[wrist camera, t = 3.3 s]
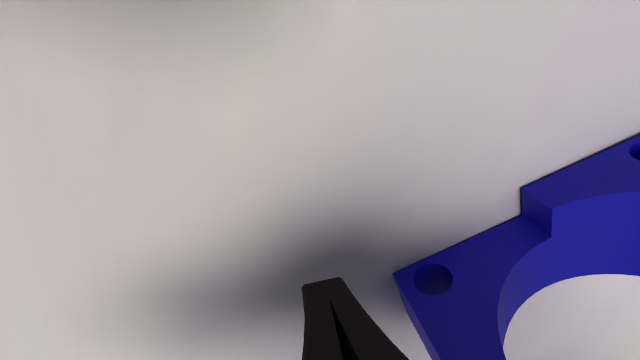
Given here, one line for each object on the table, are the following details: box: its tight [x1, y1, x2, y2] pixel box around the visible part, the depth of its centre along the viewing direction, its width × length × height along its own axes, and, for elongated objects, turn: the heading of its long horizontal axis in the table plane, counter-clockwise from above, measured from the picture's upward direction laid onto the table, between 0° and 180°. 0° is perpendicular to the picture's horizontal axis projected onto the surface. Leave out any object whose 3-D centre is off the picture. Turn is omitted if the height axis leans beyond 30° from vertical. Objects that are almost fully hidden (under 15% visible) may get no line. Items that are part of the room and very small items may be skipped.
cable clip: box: [393, 135, 640, 360], centre depth 12 cm, size 12×4×6 cm, turn 111°
